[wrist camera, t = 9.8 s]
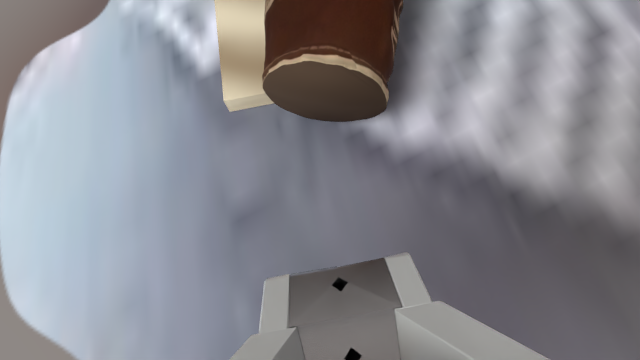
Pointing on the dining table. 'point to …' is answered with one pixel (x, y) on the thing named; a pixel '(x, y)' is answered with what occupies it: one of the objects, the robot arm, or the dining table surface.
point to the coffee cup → (330, 56)
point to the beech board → (242, 52)
